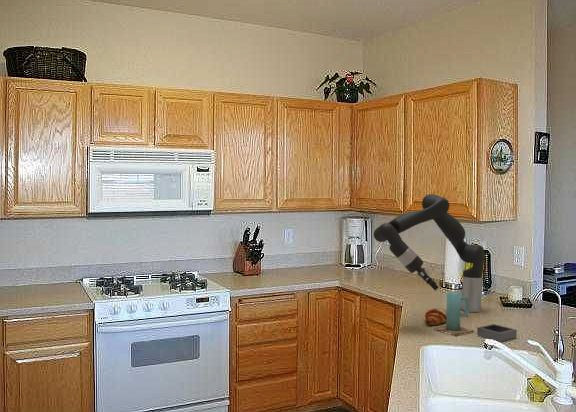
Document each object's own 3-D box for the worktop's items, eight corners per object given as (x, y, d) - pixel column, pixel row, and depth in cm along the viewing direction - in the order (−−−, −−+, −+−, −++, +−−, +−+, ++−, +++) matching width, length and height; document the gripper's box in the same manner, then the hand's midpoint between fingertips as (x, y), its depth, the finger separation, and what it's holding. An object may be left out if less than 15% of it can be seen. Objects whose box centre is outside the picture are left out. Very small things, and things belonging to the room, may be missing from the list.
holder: (477, 335, 239) (477, 327, 239) (493, 331, 246) (493, 323, 246) (500, 342, 230) (500, 333, 230) (516, 337, 237) (516, 329, 236)
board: (433, 330, 248) (433, 328, 248) (451, 326, 255) (451, 324, 255) (456, 336, 238) (456, 334, 238) (473, 332, 245) (473, 330, 245)
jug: (446, 330, 244) (447, 294, 243) (445, 327, 250) (445, 291, 249) (468, 331, 242) (469, 294, 242) (466, 328, 248) (467, 292, 248)
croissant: (436, 323, 272) (429, 308, 274) (455, 316, 268) (447, 300, 270) (423, 332, 254) (415, 316, 256) (443, 325, 250) (435, 308, 251)
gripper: (418, 256, 240) (444, 284, 239) (415, 251, 254) (440, 278, 253) (404, 268, 241) (431, 296, 240) (402, 263, 255) (427, 289, 254)
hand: (435, 287), depth 247 cm, fingers open, 8 cm apart
